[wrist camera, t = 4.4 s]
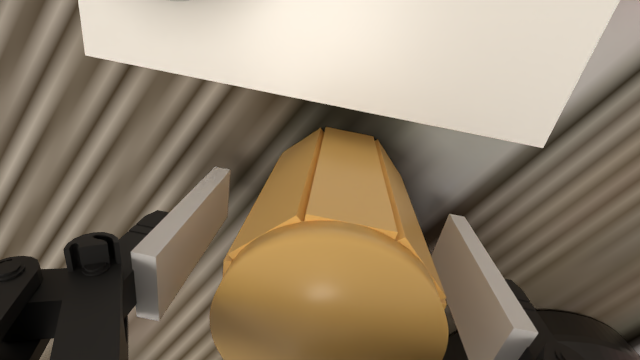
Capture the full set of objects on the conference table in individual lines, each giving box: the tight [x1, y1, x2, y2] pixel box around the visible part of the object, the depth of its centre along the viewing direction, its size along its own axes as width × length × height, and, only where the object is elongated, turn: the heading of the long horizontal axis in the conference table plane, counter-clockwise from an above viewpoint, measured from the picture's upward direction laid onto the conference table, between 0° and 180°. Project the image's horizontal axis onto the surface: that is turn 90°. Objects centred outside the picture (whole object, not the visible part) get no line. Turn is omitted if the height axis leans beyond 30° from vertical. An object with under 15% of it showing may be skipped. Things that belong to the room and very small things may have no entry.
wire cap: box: [210, 127, 449, 360], centre depth 14 cm, size 7×7×10 cm
